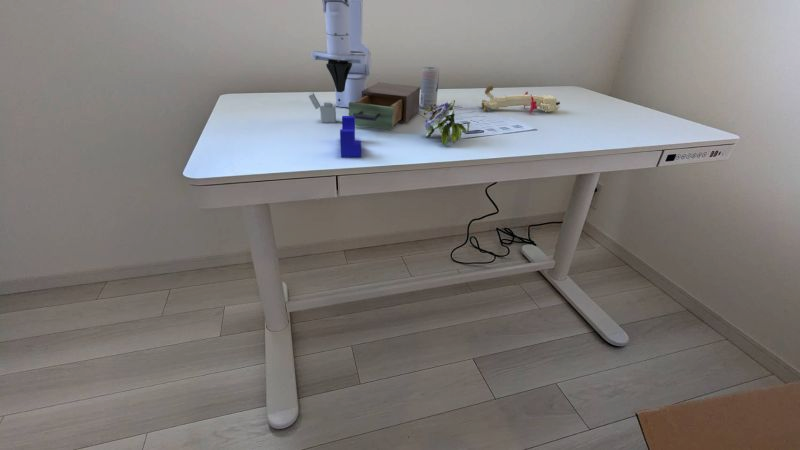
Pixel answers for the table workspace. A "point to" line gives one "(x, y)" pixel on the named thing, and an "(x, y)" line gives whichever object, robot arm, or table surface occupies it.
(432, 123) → the passion flower
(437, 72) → the energy drink
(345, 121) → the blue stepped block
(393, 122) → the drawer
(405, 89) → the cabinet
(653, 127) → the table surface
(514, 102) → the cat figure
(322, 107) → the lighter
